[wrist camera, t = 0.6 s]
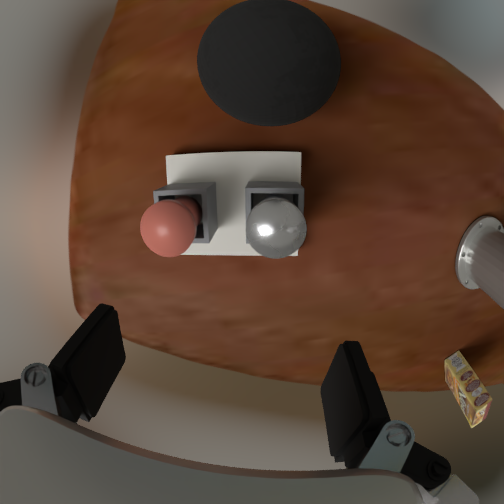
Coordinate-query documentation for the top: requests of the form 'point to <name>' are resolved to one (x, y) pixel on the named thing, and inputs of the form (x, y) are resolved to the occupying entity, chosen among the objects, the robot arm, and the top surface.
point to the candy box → (467, 389)
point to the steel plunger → (275, 227)
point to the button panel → (230, 193)
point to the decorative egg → (269, 62)
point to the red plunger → (171, 225)
